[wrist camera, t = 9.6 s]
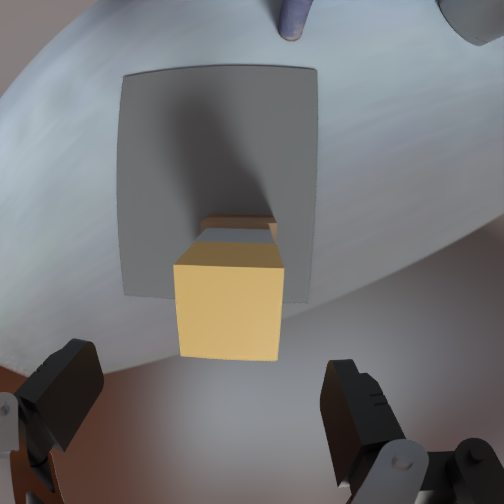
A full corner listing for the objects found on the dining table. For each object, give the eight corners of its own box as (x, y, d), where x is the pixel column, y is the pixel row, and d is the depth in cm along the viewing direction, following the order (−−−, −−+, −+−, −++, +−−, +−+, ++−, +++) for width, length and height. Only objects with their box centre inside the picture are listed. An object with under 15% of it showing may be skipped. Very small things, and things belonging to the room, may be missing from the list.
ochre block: (195, 241, 18) (173, 264, 13) (276, 243, 17) (284, 268, 13) (198, 314, 19) (181, 355, 14) (272, 317, 19) (277, 360, 14)
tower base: (210, 213, 27) (200, 221, 22) (273, 215, 27) (277, 223, 22) (210, 273, 29) (201, 292, 24) (270, 275, 29) (273, 295, 24)
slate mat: (124, 78, 24) (123, 77, 23) (316, 71, 24) (317, 70, 23) (125, 293, 30) (124, 295, 29) (306, 301, 30) (307, 303, 29)
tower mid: (206, 227, 22) (193, 241, 18) (270, 229, 22) (274, 243, 17) (207, 287, 24) (196, 314, 19) (268, 289, 24) (270, 317, 19)
